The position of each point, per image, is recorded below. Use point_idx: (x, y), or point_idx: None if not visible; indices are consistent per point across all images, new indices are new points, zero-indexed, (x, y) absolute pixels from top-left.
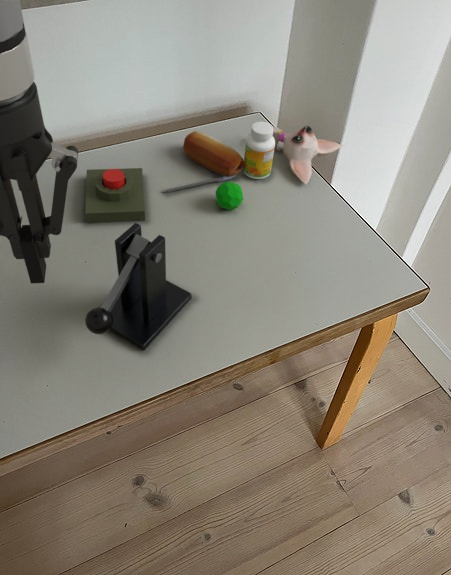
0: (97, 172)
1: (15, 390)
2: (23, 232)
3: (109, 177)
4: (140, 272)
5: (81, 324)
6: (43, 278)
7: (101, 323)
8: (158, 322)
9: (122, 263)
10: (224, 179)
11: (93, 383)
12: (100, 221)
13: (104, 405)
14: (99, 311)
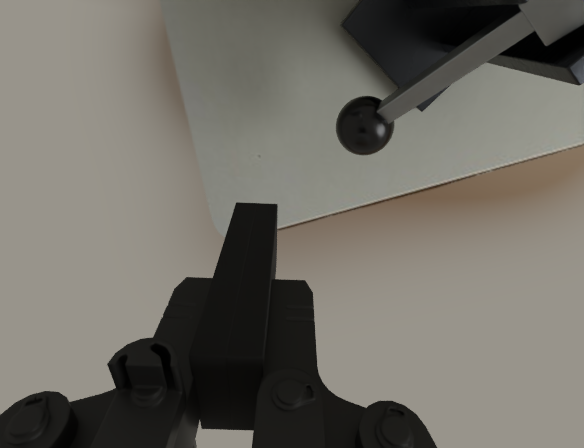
0: None
1: (213, 159)
2: (206, 391)
3: None
4: (516, 59)
5: (312, 26)
6: (275, 272)
7: (371, 152)
8: None
9: (477, 5)
10: None
11: (327, 160)
12: None
13: (340, 196)
14: (373, 132)
